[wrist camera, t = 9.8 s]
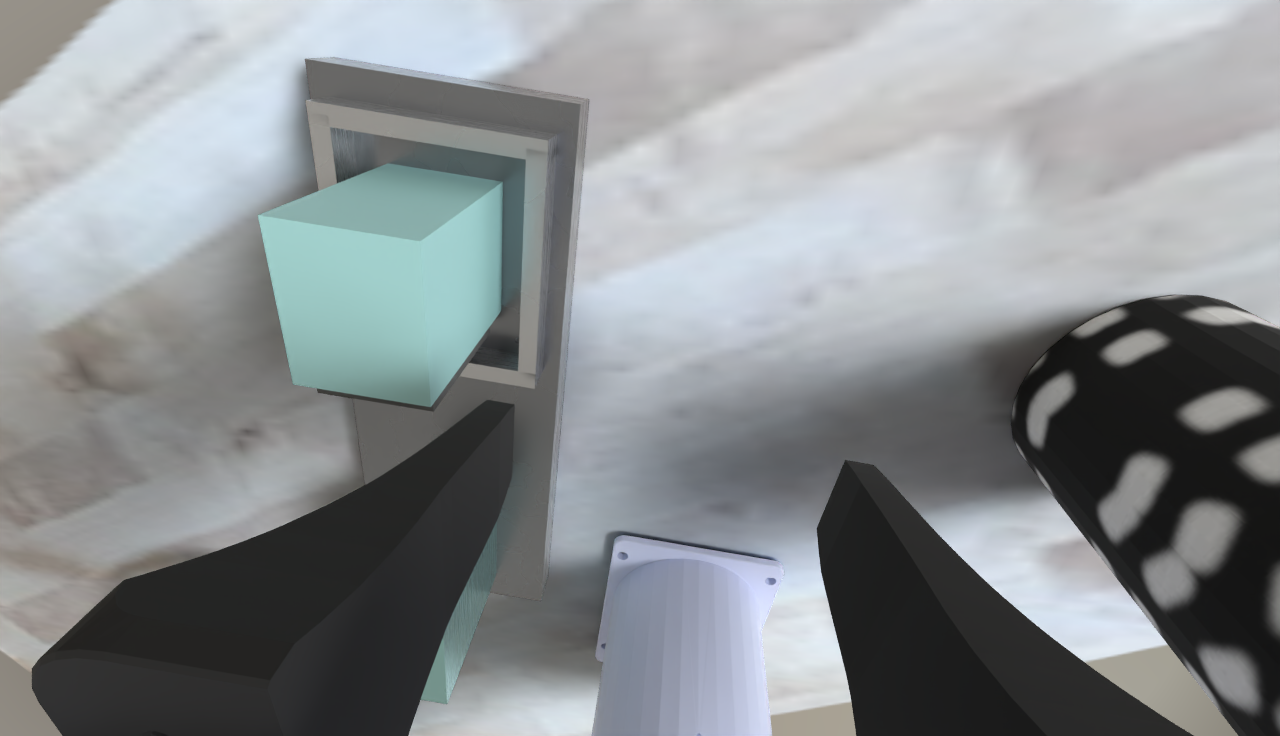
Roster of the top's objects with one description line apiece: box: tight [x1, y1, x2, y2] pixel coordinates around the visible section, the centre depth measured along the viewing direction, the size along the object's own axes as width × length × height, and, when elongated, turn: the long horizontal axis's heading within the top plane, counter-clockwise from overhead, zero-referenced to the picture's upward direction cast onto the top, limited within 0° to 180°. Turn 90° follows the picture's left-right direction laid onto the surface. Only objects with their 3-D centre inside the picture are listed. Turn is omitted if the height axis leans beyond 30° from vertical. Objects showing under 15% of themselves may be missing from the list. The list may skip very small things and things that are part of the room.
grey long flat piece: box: [305, 57, 589, 704], centre depth 20 cm, size 22×8×8 cm, turn 172°
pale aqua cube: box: [258, 163, 503, 412], centre depth 16 cm, size 5×4×6 cm
